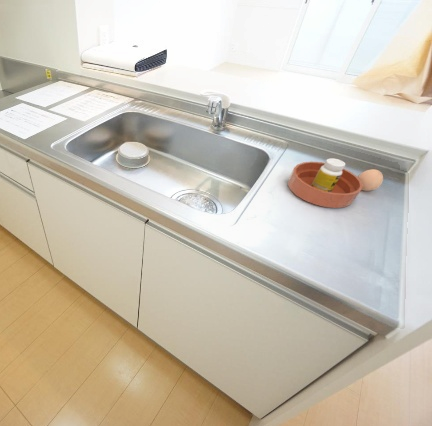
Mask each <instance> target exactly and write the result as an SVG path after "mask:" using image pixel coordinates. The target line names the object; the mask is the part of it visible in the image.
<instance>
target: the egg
mask: <svg viewBox="0 0 432 426" xmlns="http://www.w3.org/2000/svg"><path fill="white" fill-rule="evenodd" d="M357 177H358V178H359V179H360V180H361V182H362V185H363V188H362V190H361V191H365V192H371V191H374V190H375V191H376V190H377V189H378V188H380V187H381V185H382V184H383V181H384V176H383V173H382V172H381V171H380V170H378V169H373V168H371V169H367V170H364V171H362V172H361V173H360V174H359V175H358V176H357Z"/></svg>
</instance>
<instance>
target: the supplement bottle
mask: <svg viewBox="0 0 432 426" xmlns="http://www.w3.org/2000/svg"><path fill="white" fill-rule="evenodd" d="M324 163H325V164H324V165H323V166H322V167H321V168H320V170H319V172H318V173H317V175H316V177H315V179H314V181H313V183H312V184H311V186H312V187H314V188H317V189H320V190H323V191H327V192H331V191H332V190H333V188H334V186H335V185H336V183H337V181H338V180H339V178H340V176H341V175H342V170H343V169H345V167H346V162H344V161H343V160H342V159H338V158H334V157H333V158H331V157H329V158H327V159H326V160H325V162H324Z"/></svg>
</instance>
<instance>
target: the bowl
mask: <svg viewBox="0 0 432 426" xmlns="http://www.w3.org/2000/svg"><path fill="white" fill-rule="evenodd" d="M324 164H325V162H321V161H305V162H303V161H302V162H300V163H298V164H296V165H295V166H294V167H293V169H292V171H291V173H290V176H289V178H288V180H287V186H288V188H289V191H291V192H292V193H293V194H294V195H295V196H297V197H298V198H300V199H302V200H303V201H305V202H308V203H310V204H313V205H316V206H320V207H324V208H334V209H339V208H346V207H348V206H350V205H352V204H353V203H354V202H355V200H356V199H357V197H358V195H359V194H360V193H361V191H363V190H362V188H363V185H362V182H361V180H360V179H359V178H358V176H357V175H356V174H354V173H353V172H351V171H350V170H347V169H345V168H344V169H343V170H342V175H341V176H340V178H339V180H338V181H337V183H336V185H335V186H334V188H333V190H332V191H331V192H327V191H323V190H320V189H317V188H314V187H312V186H311V184H312V183H313V181H314V179H315V177H316V175H317V173H318V172H319V170H320V168H321V167H322V166H323V165H324Z"/></svg>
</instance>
